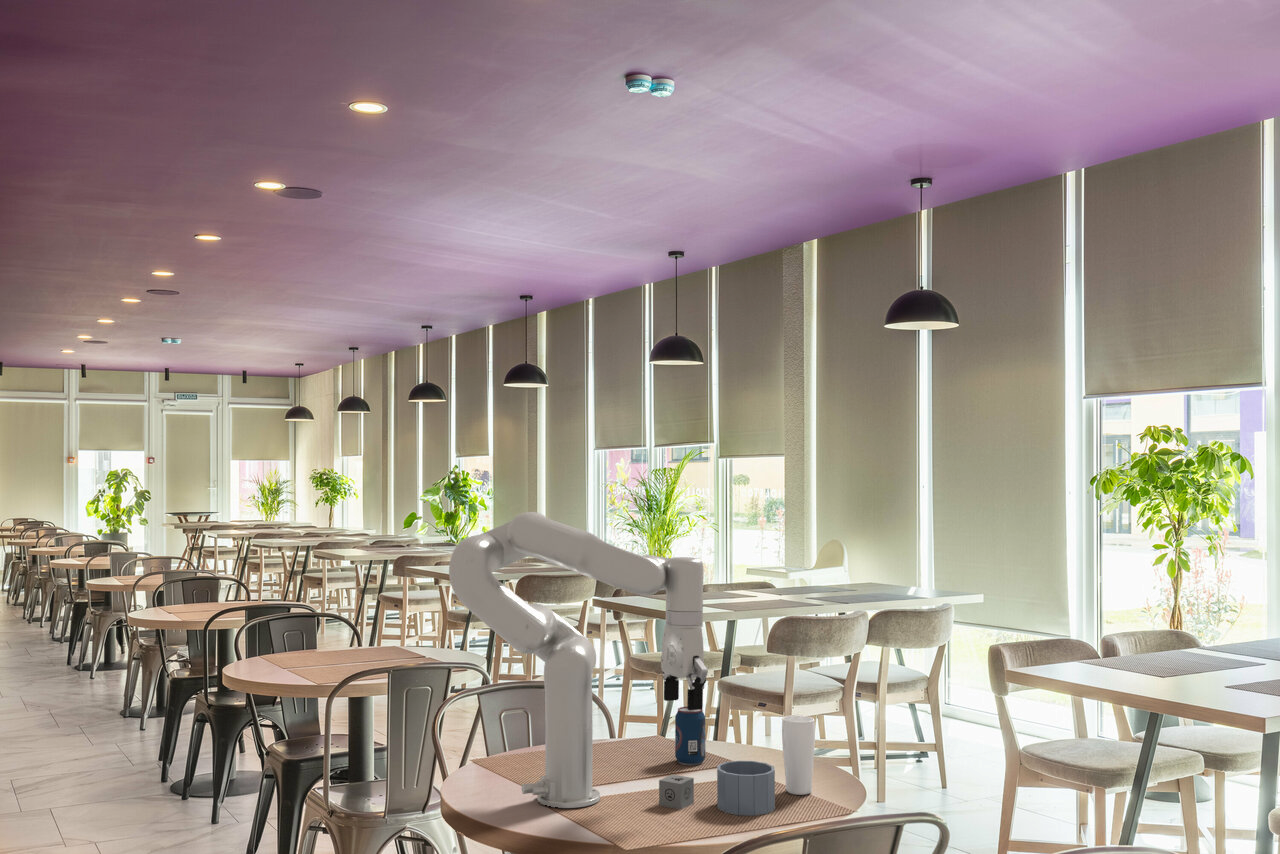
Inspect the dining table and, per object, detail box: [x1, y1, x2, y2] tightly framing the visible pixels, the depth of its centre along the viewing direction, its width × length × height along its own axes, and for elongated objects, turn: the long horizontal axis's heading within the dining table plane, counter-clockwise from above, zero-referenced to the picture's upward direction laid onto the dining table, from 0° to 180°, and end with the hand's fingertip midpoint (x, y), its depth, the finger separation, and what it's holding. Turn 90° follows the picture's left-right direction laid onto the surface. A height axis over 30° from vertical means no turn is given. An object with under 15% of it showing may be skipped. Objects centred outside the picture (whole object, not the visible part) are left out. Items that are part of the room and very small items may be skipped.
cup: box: [716, 760, 776, 817], centre depth 208 cm, size 11×11×8 cm
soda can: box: [674, 706, 707, 766], centre depth 242 cm, size 7×7×12 cm
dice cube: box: [658, 773, 695, 811], centre depth 209 cm, size 5×5×5 cm
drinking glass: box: [781, 714, 816, 796], centre depth 218 cm, size 7×7×15 cm
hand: (682, 704), depth 212 cm, fingers open, 9 cm apart
